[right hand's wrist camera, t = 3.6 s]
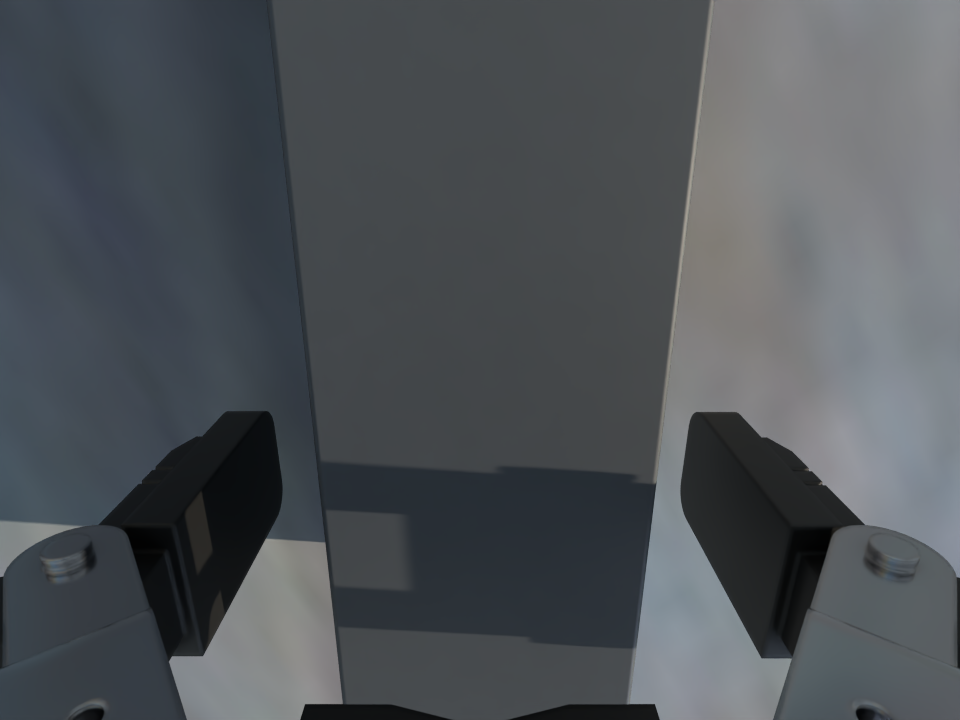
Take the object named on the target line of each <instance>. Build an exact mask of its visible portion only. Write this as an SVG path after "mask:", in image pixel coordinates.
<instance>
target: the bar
mask: <svg viewBox="0 0 960 720" xmlns="http://www.w3.org/2000/svg"><path fill="white" fill-rule="evenodd" d="M714 3H715V0H267V8H268V17H269V26H270V36H271V45H272V54H273V63H274V72H275V82H276V91H277V100H278V109H279V119H280V128H281V137H282V146H283V155H284V165H285V174H286V183H287V192H288V201H289V211H290V220H291V229H292V238H293V248H294V257H295V266H296V275H297V284H298V294H299V303H300V312H301V321H302V330H303V340H304V349H305V358H306V367H307V377H308V386H309V395H310V404H311V413H312V423H313V432H314V441H315V450H316V460H317V469H318V478H319V487H320V496H321V506H322V515H323V524H324V533H325V542H326V552H327V561H328V570H329V579H330V589H331V598H332V607H333V616H334V625H335V635H336V644H337V653H338V662H339V671H340V681H341V690H342V699H343V704H392V705H396V706H400V707H404V708H408V709H412V710H416V711H420V712H424V713H428V714H432V715H436V716H440V717H444V718H448V719H452V720H508V719H512V718H516V717H520V716H524V715H528V714H532V713H536V712H540V711H544V710H548V709H552V708H556V707H560V706H564V705H568V704H630V696H631V688H632V679H633V671H634V663H635V655H636V646H637V638H638V630H639V622H640V613H641V605H642V597H643V589H644V580H645V572H646V564H647V556H648V547H649V539H650V531H651V523H652V514H653V506H654V498H655V490H656V481H657V473H658V465H659V457H660V448H661V440H662V432H663V424H664V415H665V407H666V399H667V391H668V382H669V374H670V366H671V358H672V350H673V341H674V333H675V325H676V317H677V308H678V300H679V292H680V284H681V275H682V267H683V259H684V251H685V242H686V234H687V226H688V218H689V209H690V201H691V193H692V185H693V176H694V168H695V160H696V152H697V143H698V135H699V127H700V119H701V110H702V102H703V94H704V86H705V77H706V69H707V61H708V53H709V44H710V36H711V28H712V20H713V11H714Z"/></svg>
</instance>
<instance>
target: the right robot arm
mask: <svg viewBox="0 0 960 720" xmlns="http://www.w3.org/2000/svg"><path fill="white" fill-rule="evenodd" d="M281 502H282V478H281V471H280V464H279V456H278V449H277V442H276V435H275V427H274V422H273V418H272V416H271V414H270V413H269V412H267V411H227V412H225V413H224V414H223V415H222V416H221V417H220V418H219V419H218V420H217V421H216V422H215V424H214V425H213V426H212V427H211V428H210V429H209V430H208V431H207V432H206V433H205V434H204V435H203V436H202V437H195V438H193V439H191V440H190V441H188V442H186V443H184V444H183V445H181V446H179V447H177V448H175V449H174V450H172V451H171V452H170V453H169V454H168V455H167V456H166V457H165V458H164V459H163V460H162V461H161V462H160V463H159V464H158V465H157V466H156V469H155V470H152V471H151V472H150V473H149V474H148V475H147V476H146V477H145V478H144V479H143V480H142V484H138V485H137V486H136V487H135V488H134V489H133V490H132V491H131V492H130V493H129V494H128V495H127V496H126V497H125V499H124V500H123V501H122V502H121V503H120V504H119V505H118V506H117V507H116V508H115V509H114V510H113V511H112V512H111V513H110V514H109V515H108V516H107V517H106V518H105V519H104V520H103V521H102V522H101V523H100V524H99V525H92V526H84V527H79V528H74V529H71V530H67V531H64V532H61V533H58V534H55V535H53V536H51V537H48V538H46V539H44V540H42V541H40V542H38V543H36V544H34V545H33V546H31V547H30V548H28V549H26V550H25V551H24V552H22V553H21V554H20V555H19V556H17V557H16V558H15V559H14V560H13V561H12V562H11V564H10V565H9V566H8V567H7V569H6V571H5V573H4V577H0V720H187V719H186V716H185V712H184V709H183V706H182V703H181V699H180V696H179V693H178V690H177V687H176V683H175V680H174V677H173V674H172V670H171V667H170V664H169V660H170V659H171V657H172V656H203V655H204V653H205V651H206V650H207V648H208V646H209V644H210V642H211V640H212V638H213V636H214V635H215V633H216V631H217V629H218V627H219V625H220V623H221V621H222V620H223V618H224V616H225V614H226V612H227V610H228V608H229V606H230V605H231V603H232V601H233V599H234V597H235V595H236V593H237V591H238V590H239V588H240V586H241V584H242V582H243V580H244V578H245V576H246V575H247V573H248V571H249V569H250V567H251V565H252V563H253V561H254V560H255V558H256V556H257V554H258V552H259V550H260V548H261V547H262V545H263V543H264V541H265V539H266V537H267V535H268V533H269V532H270V530H271V528H272V526H273V524H274V522H275V520H276V518H277V516H278V514H279V511H280V507H281ZM681 503H682V508H683V512H684V515H685V517H686V519H687V521H688V523H689V525H690V527H691V529H692V530H693V532H694V534H695V536H696V538H697V540H698V542H699V543H700V545H701V547H702V549H703V551H704V553H705V554H706V556H707V558H708V560H709V562H710V564H711V566H712V567H713V569H714V571H715V573H716V575H717V577H718V579H719V580H720V582H721V584H722V586H723V588H724V590H725V591H726V593H727V595H728V597H729V599H730V601H731V603H732V604H733V606H734V608H735V610H736V612H737V614H738V616H739V617H740V619H741V621H742V623H743V625H744V627H745V628H746V630H747V632H748V634H749V636H750V638H751V640H752V641H753V643H754V645H755V647H756V649H757V651H758V652H759V654H760V656H761V658H792V661H791V664H790V667H789V670H788V674H787V677H786V680H785V683H784V687H783V690H782V693H781V696H780V699H779V703H778V706H777V709H776V712H775V716H774V719H773V720H960V578H958V577H956V573H955V571H954V569H953V567H952V566H951V565H950V564H949V562H948V561H947V560H946V559H945V558H944V557H943V556H941V555H940V554H939V553H938V552H936V551H935V550H934V549H932V548H930V547H929V546H927V545H926V544H924V543H922V542H920V541H918V540H916V539H914V538H912V537H909V536H907V535H905V534H902V533H899V532H896V531H893V530H889V529H886V528H881V527H876V526H868V525H865V524H864V523H863V522H862V521H861V520H860V519H859V518H858V517H857V516H856V515H855V514H854V513H853V512H852V511H851V510H850V509H849V508H848V507H847V506H846V505H845V504H844V503H843V502H842V501H841V500H840V499H839V498H838V497H837V496H836V495H835V494H834V493H833V492H832V491H831V490H830V489H829V488H828V487H827V486H826V485H822V481H821V480H820V479H819V478H818V477H817V476H816V475H815V474H814V473H813V472H812V471H809V470H808V467H807V466H806V465H805V464H804V463H803V462H802V461H801V460H800V459H799V458H798V457H797V456H796V455H795V454H794V453H793V452H792V451H790V450H788V449H787V448H785V447H783V446H781V445H779V444H778V443H776V442H774V441H772V440H770V439H769V438H761V437H760V436H759V434H758V433H757V432H756V431H755V430H754V429H753V428H752V427H751V426H750V425H749V424H748V423H747V422H746V421H745V420H744V418H743V417H742V416H741V415H740V414H739V413H737V412H696V413H694V414H693V415H692V417H691V420H690V424H689V430H688V437H687V444H686V451H685V458H684V465H683V472H682V479H681ZM300 720H452V719H448V718H444V717H440V716H436V715H432V714H428V713H424V712H420V711H416V710H412V709H408V708H404V707H400V706H396V705H392V704H305V706H304V710H303V713H302V716H301V719H300ZM508 720H660V719H659V716H658V713H657V710H656V706H655V704H568V705H564V706H560V707H556V708H552V709H548V710H544V711H540V712H536V713H532V714H528V715H524V716H520V717H516V718H512V719H508Z"/></svg>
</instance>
